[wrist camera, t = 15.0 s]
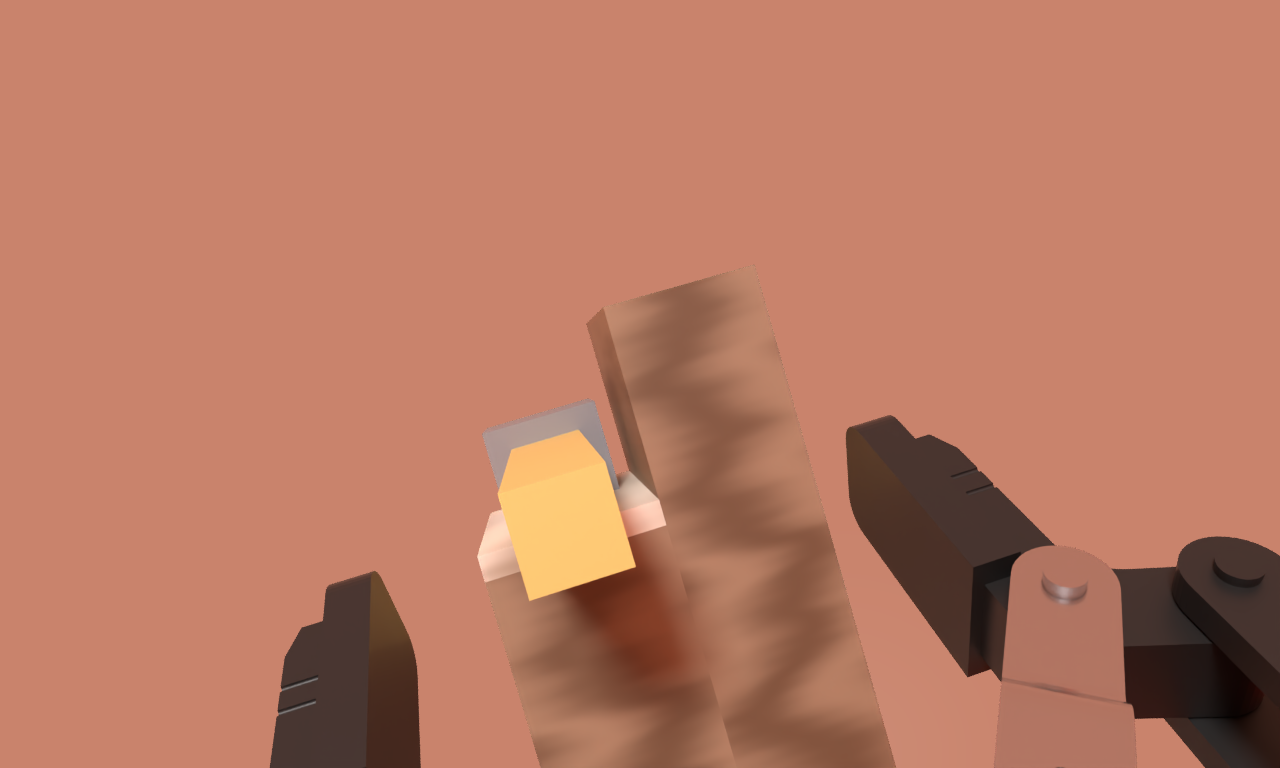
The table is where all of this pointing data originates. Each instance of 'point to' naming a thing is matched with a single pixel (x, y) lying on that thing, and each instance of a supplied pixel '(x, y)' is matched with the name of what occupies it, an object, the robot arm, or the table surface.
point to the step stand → (697, 566)
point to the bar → (559, 498)
